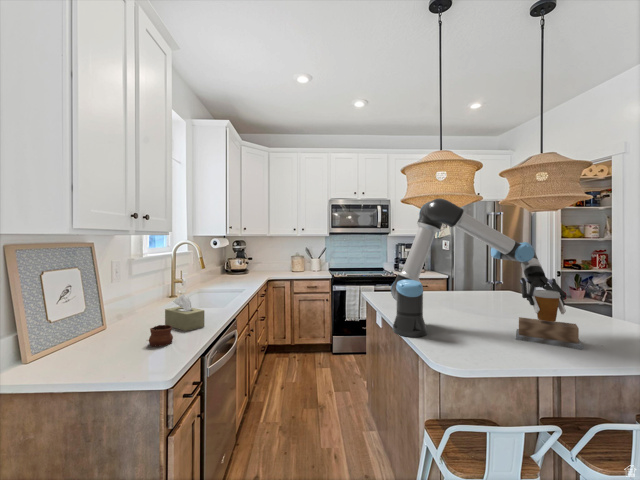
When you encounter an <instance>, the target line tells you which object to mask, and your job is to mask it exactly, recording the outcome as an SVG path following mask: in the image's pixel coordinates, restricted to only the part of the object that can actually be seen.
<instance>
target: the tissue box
mask: <svg viewBox="0 0 640 480" xmlns="http://www.w3.org/2000/svg"><path fill="white" fill-rule="evenodd" d="M173 303H174V304H175V305H177V306H176V307H175V306H174V307H170V308H165V309H164V325H170V326H172V328H175V329H179V330H181V331H185V332H188V331H192V330H195V329H199V328H203V327H205V309H199V308H195V307H192V303H191V299H190V298H189V297H188V296H187V297H186V296H185V294H184V293H182V294H181V295H179V297H176V298H175V299H174V300H173Z"/></svg>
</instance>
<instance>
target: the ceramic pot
mask: <svg viewBox="0 0 640 480" xmlns="http://www.w3.org/2000/svg"><path fill="white" fill-rule="evenodd" d="M172 329H173V327H172V326H170V325H165V324H159V325H155V326H153V327H150V328H149V330H150V336H149V339H146V342H148V344H149V345H150V346H151V347H154V348H155V347H156V348H157V347H163V346H164V347H165V346H167V345H172V344H173V340H174V336H173V333H172Z"/></svg>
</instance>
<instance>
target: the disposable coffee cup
mask: <svg viewBox="0 0 640 480" xmlns="http://www.w3.org/2000/svg"><path fill="white" fill-rule="evenodd" d="M560 296H561V295H560V293H559V292H557V291H550V290H544V289H534V292H533V297H535V299H536V301H537V304H538V306H539V309H540V310H539V312H538V313H536V315H537V319H539V320H543V321H556V322H557V315H558V311H559V310H558V309H559V308H558V304H559V298H560Z"/></svg>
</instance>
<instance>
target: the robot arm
mask: <svg viewBox="0 0 640 480" xmlns="http://www.w3.org/2000/svg"><path fill="white" fill-rule="evenodd" d="M418 215H419V218H418V219H417V223H416V224H417V227H418V228H417V231H416V234H415V237H414V239H413V242H412V245H411V247H410V249H409V252H408V255H407V258H406V260H405V263H404V265H403V267H402V271H400V272H398V273H397V275H396V278H395V280H394V281H393V283H392V284H391V286H390V293H391V296H392V298H393V299H394V300H395V301H396V313H395V314H396V316H395V318H394V321H393V324H392V332H393V333H394V334H396V335H398V336H401V337H409V338H411V337H412V338H419V337H420V336H421V337H425V336H427V334H428V328H427V325H426V322H425V319H424V288H423V286H424V285H423V283H421V280H420V276H421V272H422V269H423V267H424V266H425V265H424V264H425V262H426V260H427V257H428V254H429V251H430V250H431V249H430V248H431V247H432V244H433V242H434V239H435V237H436V233H438V232H440V231H441V230H442V227H443V225H446V226H448V227H450V228H451V229H452V228H457V229H458V230H460V231H461V232H463V233H465V234H467V235H469V236H471V237H473V238H474V239H476V240H478V241H480V242H481V243H484V244H485V245H487V246H489V247H491V249H490V255H491V257H492V258H493V259H497V260H502V261H503V260H504V261H513V262H519V265H520V266H521V269H522V272H523V273H524V274H523V275H524V277H525V278H524V277H521V278H520V280H519V282H520V283H519V284H520V285H521V295H522V296H521V297H522V298H523V299H526V301H528V302H529V305H530V306H532V307H533V310H534V313H535V314H537V313H538V312H539V310H540V309H539V306H538V304H537V301H536V299H535V296H534V294H533V293H534V291H535V288H541V289H542V290H550V291H557V292H559V293H560V295H561V296H560V298H559V304H558V309H559V310H558V311H559V312H560V315H564V314H565V313H566V311H567V309H566V308H565V305H566V303H565V301H564V300H565V299H566V297H567V294H566V293H565V292H564V290H563V289H562V288H561V287H560V285H559V284H558V282H557V280H556V278H553V277H552V278H551V279H550V278H548V277H546V274H545V271H544V269H543V267H542V264H541V262H540V259H539V257H538V256H537V254H536V252H535V251H536V250H535V249H534V247H533V246H532V244H531V243H529V242H526V241H524V242H518V241H516V240H515V239H513V238H511V237H509V236H507V235H506V234H503V232H500V231H498V230H497V229H495V228H493V227H491V226H489V225H488V224H486V223H484V222H482V221H481V220H478V219H477V218H475V217H473V216H472V215H469V214H468V213H466V212H465V209H464V208H462V207H460V206H459V205H457V204H455V203H453V202H451V201H449V200H448V199H444V198H435V199H432V200H431V201H427V202H426V203H424V204H423V205H422V206H421V208H420V210H419V213H418ZM527 284H529V285H530V287H529V291H528V289H527V288H528V287H527Z"/></svg>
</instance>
